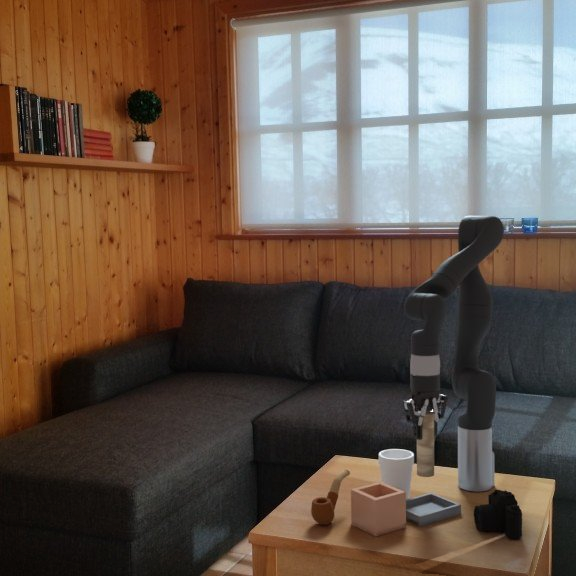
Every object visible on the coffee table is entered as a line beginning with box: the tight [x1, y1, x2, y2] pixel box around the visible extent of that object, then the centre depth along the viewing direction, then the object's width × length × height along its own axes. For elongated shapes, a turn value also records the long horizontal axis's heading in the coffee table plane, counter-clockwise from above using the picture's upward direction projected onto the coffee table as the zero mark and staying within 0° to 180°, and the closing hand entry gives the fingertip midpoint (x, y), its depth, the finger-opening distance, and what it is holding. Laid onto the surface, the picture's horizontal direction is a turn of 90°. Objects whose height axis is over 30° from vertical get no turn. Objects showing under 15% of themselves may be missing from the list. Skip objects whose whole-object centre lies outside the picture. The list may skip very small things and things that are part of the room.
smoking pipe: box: [310, 469, 351, 526], centre depth 204 cm, size 7×18×6 cm
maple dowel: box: [416, 411, 435, 478], centre depth 203 cm, size 4×4×16 cm
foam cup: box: [378, 448, 415, 500], centre depth 213 cm, size 10×9×13 cm
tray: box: [406, 492, 462, 527], centre depth 205 cm, size 14×11×2 cm
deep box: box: [350, 481, 407, 537], centre depth 197 cm, size 10×10×9 cm
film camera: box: [473, 489, 523, 540], centre depth 194 cm, size 15×10×9 cm, turn 5°
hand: (425, 437), depth 203 cm, fingers closed on maple dowel, 4 cm apart
